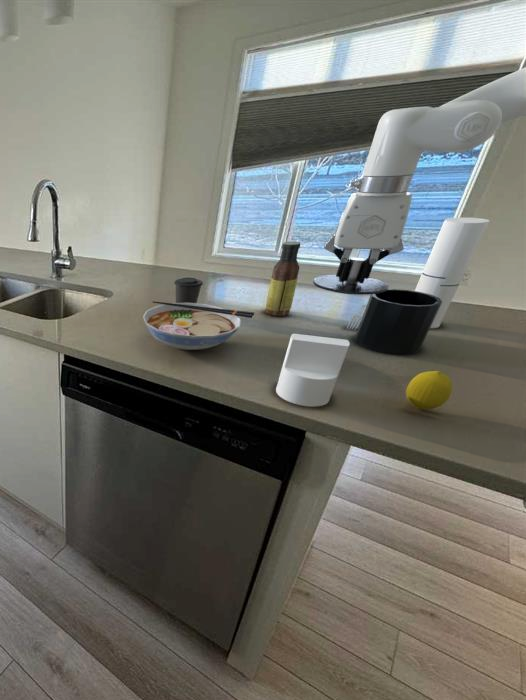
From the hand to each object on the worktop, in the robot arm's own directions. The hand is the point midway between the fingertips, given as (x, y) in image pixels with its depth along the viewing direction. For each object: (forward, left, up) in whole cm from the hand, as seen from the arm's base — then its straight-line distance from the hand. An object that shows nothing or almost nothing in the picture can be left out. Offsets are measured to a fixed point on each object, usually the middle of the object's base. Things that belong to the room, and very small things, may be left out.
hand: (350, 280), depth 86 cm
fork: (-9, -27, -17) cm, 33 cm away
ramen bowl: (+30, +6, -18) cm, 35 cm away
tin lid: (0, 0, -1) cm, 1 cm away
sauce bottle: (+11, -24, -18) cm, 32 cm away
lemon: (-13, +20, -18) cm, 30 cm away
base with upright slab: (+5, +22, -17) cm, 29 cm away
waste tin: (-12, -10, -17) cm, 23 cm away
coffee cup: (+35, -18, -17) cm, 43 cm away
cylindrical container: (-21, -27, -18) cm, 39 cm away
